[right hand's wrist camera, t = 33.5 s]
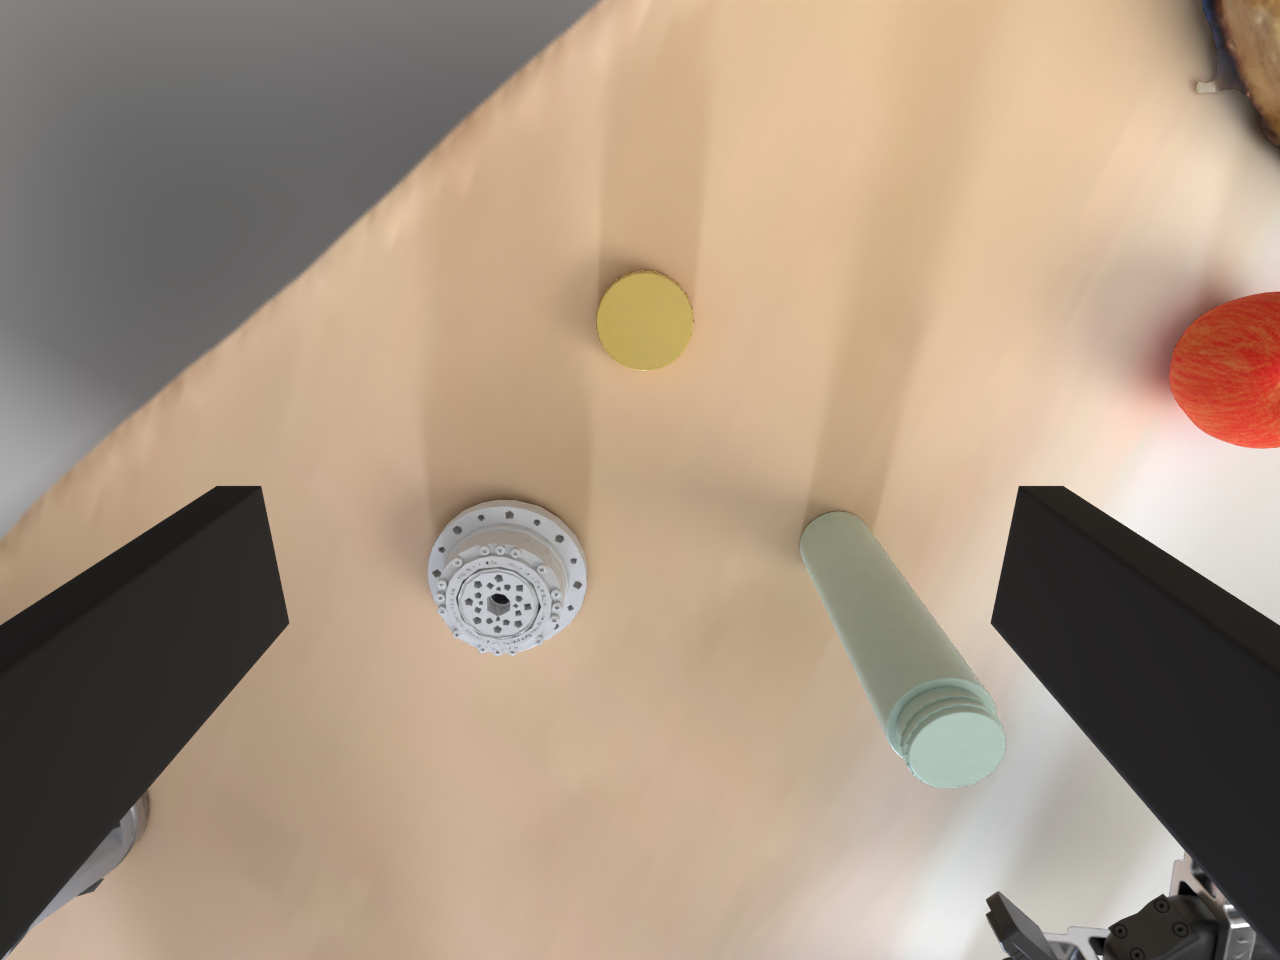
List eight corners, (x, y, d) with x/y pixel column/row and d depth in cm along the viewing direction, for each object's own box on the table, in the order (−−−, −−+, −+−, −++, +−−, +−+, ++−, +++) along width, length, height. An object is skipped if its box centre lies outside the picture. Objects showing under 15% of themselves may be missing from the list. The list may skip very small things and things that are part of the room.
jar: (811, 504, 44) (923, 694, 27) (880, 518, 44) (1035, 715, 27) (790, 567, 46) (883, 785, 28) (857, 580, 46) (989, 804, 29)
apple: (1284, 401, 41) (1426, 442, 34) (1143, 439, 42) (1252, 488, 35) (1287, 266, 39) (1442, 279, 31) (1136, 310, 40) (1252, 332, 32)
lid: (655, 383, 41) (655, 391, 40) (578, 329, 40) (576, 334, 38) (711, 307, 40) (714, 311, 38) (633, 248, 39) (632, 250, 37)
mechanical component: (583, 640, 47) (593, 504, 44) (577, 681, 43) (588, 535, 40) (434, 628, 47) (432, 490, 43) (414, 668, 43) (411, 520, 39)
